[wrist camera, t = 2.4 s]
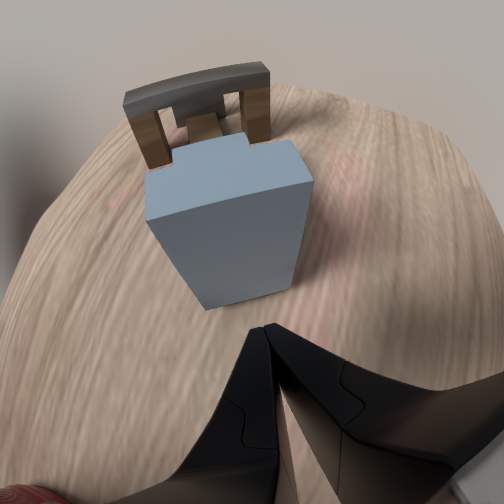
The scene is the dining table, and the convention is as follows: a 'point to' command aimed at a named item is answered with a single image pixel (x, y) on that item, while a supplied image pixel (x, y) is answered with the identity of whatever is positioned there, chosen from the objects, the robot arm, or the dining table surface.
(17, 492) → the canister
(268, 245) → the light blue l-shaped block
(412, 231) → the dining table surface
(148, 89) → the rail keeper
